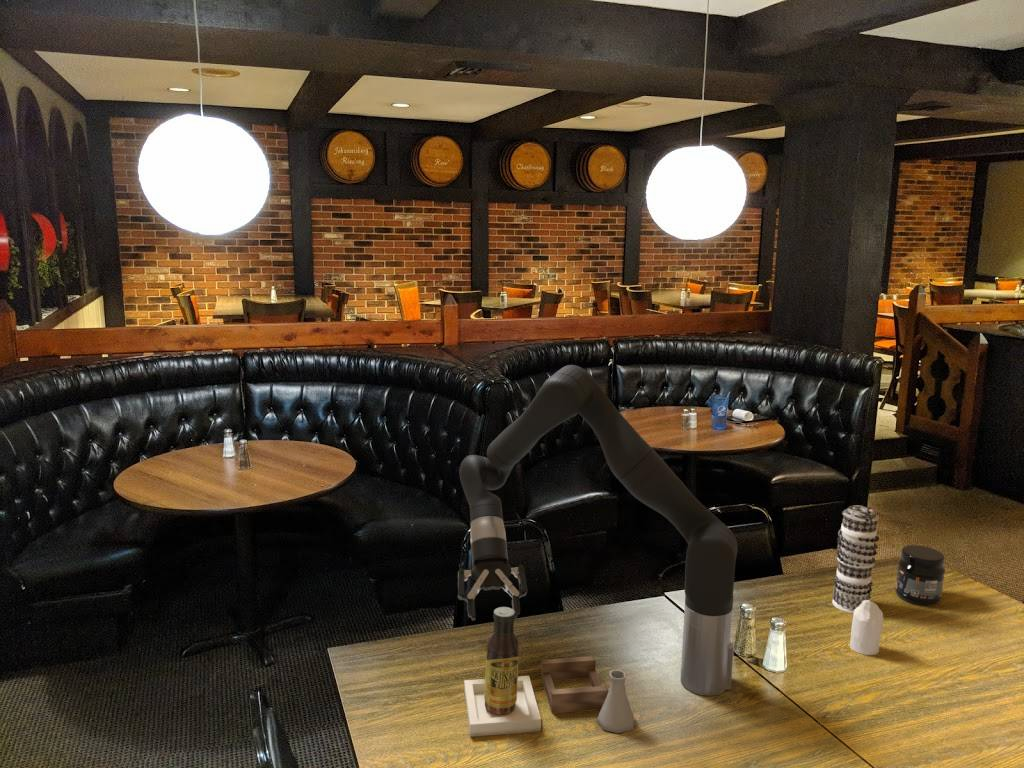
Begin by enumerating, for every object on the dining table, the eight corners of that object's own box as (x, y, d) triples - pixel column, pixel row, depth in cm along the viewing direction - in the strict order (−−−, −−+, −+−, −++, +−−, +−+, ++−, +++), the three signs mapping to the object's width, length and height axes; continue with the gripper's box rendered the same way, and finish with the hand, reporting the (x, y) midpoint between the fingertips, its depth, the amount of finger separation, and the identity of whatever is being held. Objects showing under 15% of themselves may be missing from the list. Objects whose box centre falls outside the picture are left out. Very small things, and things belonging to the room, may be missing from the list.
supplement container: (905, 583, 206) (911, 540, 203) (948, 598, 198) (954, 553, 195) (886, 595, 199) (891, 551, 197) (929, 611, 191) (935, 565, 189)
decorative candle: (874, 602, 195) (885, 506, 190) (868, 618, 188) (879, 519, 182) (834, 593, 200) (844, 499, 195) (827, 608, 193) (837, 510, 187)
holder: (593, 673, 164) (593, 656, 164) (607, 708, 153) (608, 690, 152) (540, 677, 163) (541, 659, 162) (551, 713, 151) (552, 694, 150)
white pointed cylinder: (882, 594, 174) (887, 606, 169) (876, 644, 177) (881, 657, 171) (853, 591, 175) (857, 603, 170) (847, 640, 178) (851, 653, 173)
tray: (528, 686, 160) (528, 675, 159) (540, 731, 146) (540, 719, 146) (464, 691, 158) (464, 680, 157) (470, 736, 144) (470, 724, 144)
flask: (637, 734, 145) (640, 685, 143) (598, 734, 145) (599, 685, 143) (632, 710, 152) (634, 663, 150) (595, 709, 153) (596, 662, 150)
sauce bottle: (488, 719, 148) (488, 622, 144) (480, 699, 154) (480, 606, 150) (522, 713, 150) (523, 617, 146) (513, 694, 156) (514, 601, 152)
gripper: (455, 537, 165) (460, 614, 156) (523, 533, 167) (531, 610, 158) (454, 550, 171) (458, 625, 163) (519, 547, 173) (527, 621, 165)
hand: (494, 618), depth 160 cm, fingers open, 8 cm apart
